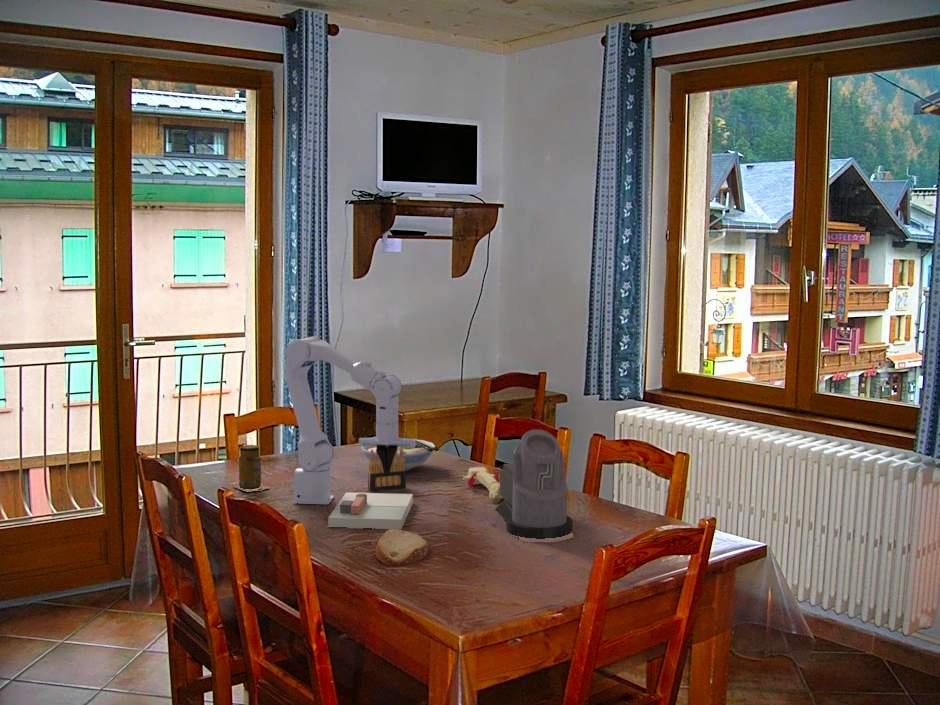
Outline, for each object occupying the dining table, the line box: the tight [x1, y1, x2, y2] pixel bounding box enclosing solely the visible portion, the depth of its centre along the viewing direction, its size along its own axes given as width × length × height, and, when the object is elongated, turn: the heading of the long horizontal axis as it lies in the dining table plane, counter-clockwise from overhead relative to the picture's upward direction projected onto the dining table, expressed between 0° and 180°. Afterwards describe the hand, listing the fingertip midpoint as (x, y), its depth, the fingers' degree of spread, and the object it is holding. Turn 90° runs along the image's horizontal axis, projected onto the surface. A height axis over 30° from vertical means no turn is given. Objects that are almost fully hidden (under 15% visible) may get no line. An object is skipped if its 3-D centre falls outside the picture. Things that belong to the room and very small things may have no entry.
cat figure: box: [462, 466, 506, 504], centre depth 281 cm, size 10×9×25 cm
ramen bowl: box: [360, 435, 439, 472], centre depth 307 cm, size 25×23×8 cm
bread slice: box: [374, 529, 429, 567], centre depth 229 cm, size 18×18×4 cm
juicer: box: [494, 428, 573, 539], centre depth 249 cm, size 30×16×24 cm, turn 14°
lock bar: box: [351, 494, 367, 514], centre depth 254 cm, size 12×3×2 cm, turn 177°
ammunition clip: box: [367, 447, 406, 492], centre depth 283 cm, size 11×2×12 cm, turn 114°
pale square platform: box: [327, 492, 414, 530], centre depth 257 cm, size 18×24×5 cm
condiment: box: [238, 444, 262, 489], centre depth 282 cm, size 7×8×12 cm
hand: (387, 473), depth 262 cm, fingers closed
